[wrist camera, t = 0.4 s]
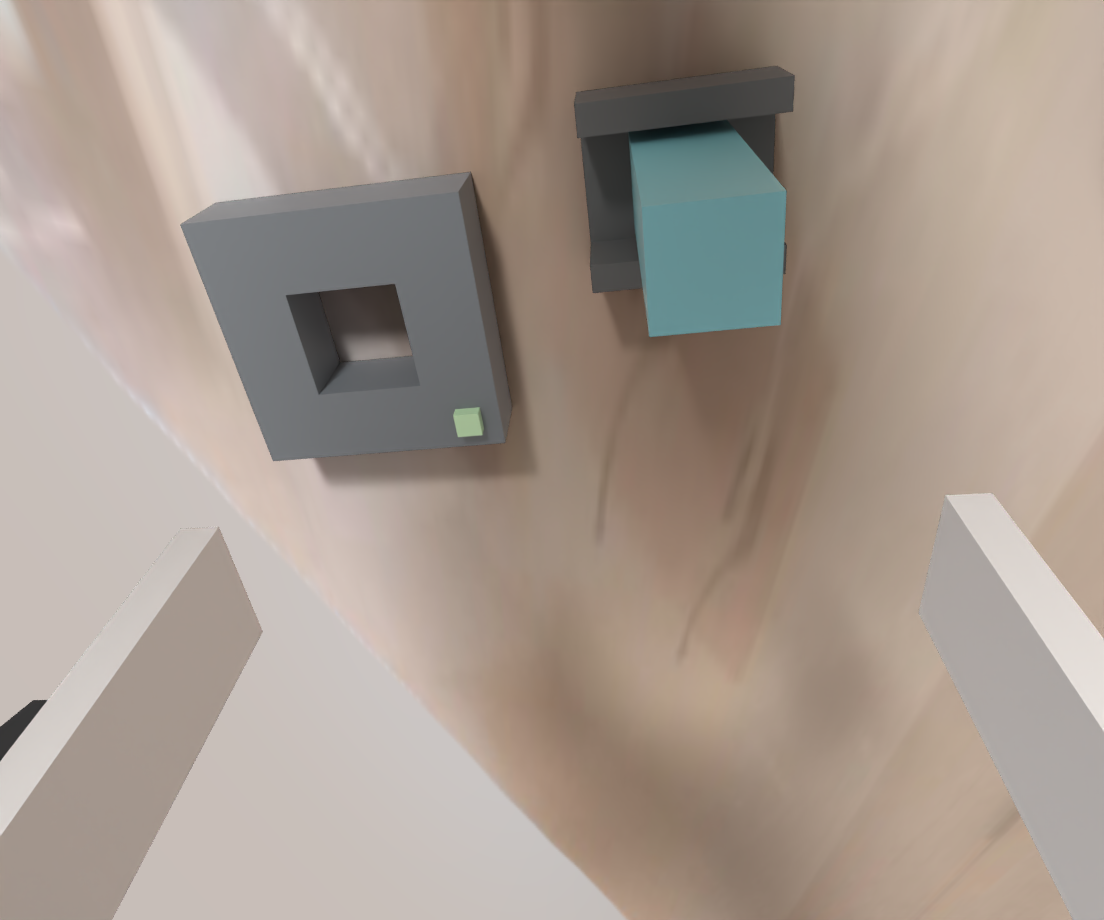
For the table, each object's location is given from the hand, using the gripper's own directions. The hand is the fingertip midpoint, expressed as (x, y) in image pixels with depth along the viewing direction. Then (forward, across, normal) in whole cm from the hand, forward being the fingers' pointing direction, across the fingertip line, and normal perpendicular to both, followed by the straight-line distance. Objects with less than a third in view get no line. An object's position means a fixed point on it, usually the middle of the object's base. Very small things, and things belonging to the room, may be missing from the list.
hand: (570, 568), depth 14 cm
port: (+24, -11, -4) cm, 26 cm away
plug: (+23, +4, +2) cm, 24 cm away
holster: (+24, +4, +2) cm, 24 cm away
